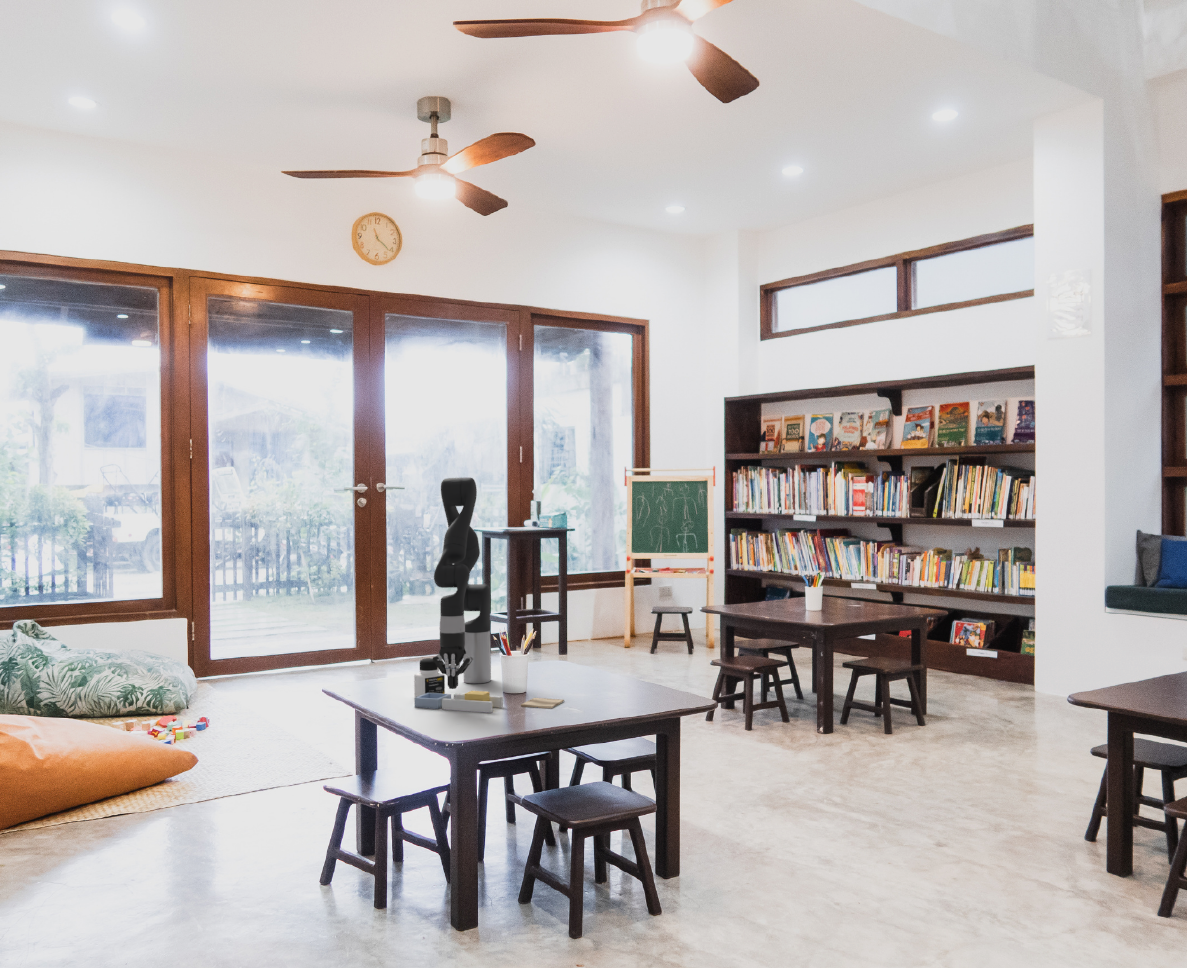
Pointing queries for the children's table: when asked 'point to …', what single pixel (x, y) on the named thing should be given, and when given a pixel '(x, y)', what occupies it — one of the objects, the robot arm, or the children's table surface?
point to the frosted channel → (471, 704)
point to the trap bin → (431, 700)
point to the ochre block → (477, 696)
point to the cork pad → (542, 703)
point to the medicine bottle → (429, 678)
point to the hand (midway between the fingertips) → (452, 688)
